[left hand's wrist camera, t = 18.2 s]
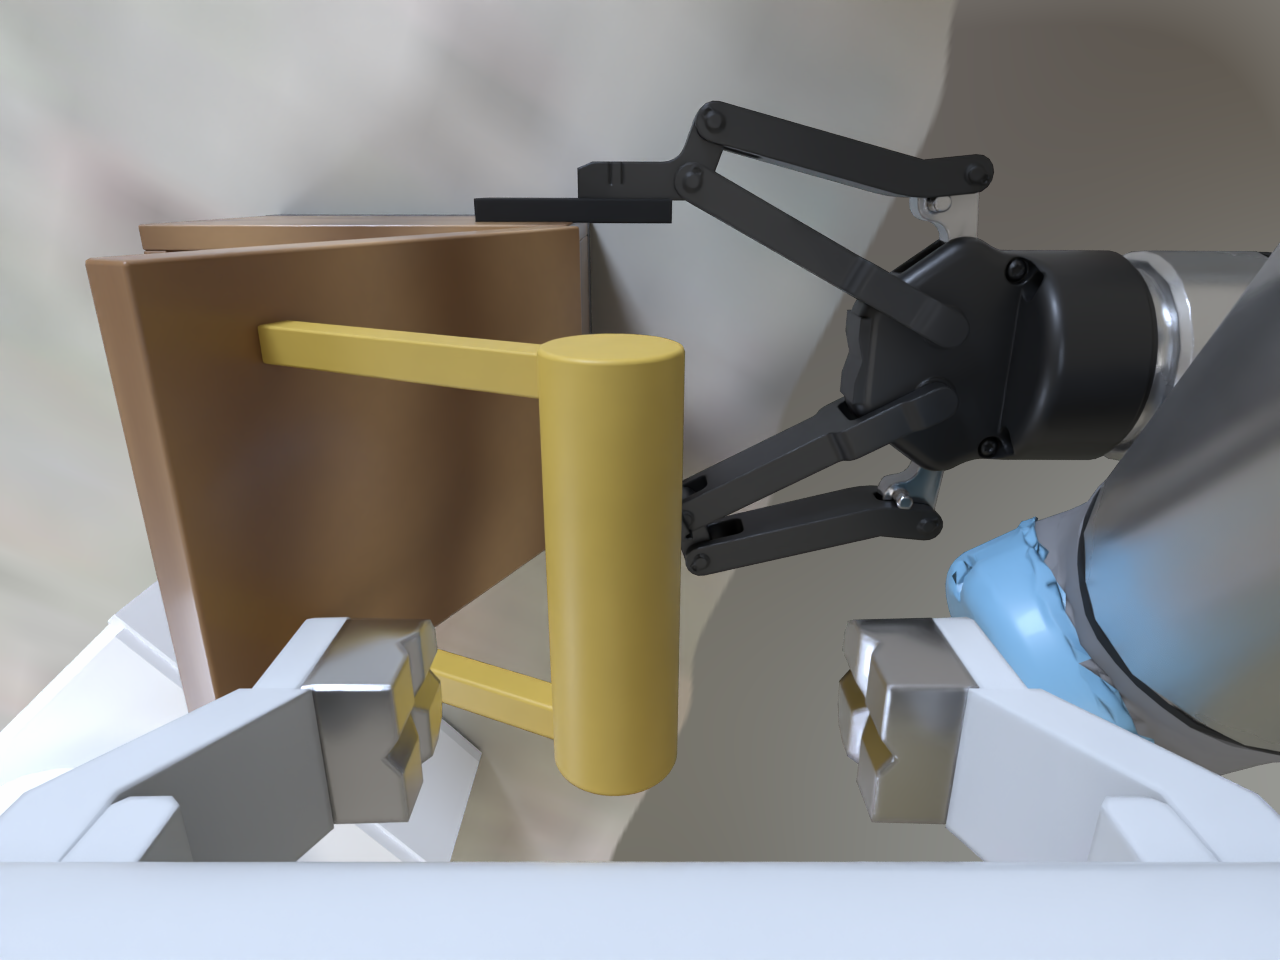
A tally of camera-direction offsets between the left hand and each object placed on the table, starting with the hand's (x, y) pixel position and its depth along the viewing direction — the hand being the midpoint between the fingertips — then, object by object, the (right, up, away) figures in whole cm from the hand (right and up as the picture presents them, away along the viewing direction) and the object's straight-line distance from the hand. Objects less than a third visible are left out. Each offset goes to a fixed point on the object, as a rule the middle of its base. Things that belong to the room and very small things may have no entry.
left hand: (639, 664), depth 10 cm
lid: (-6, +4, +10) cm, 12 cm away
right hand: (-5, +7, +19) cm, 21 cm away
